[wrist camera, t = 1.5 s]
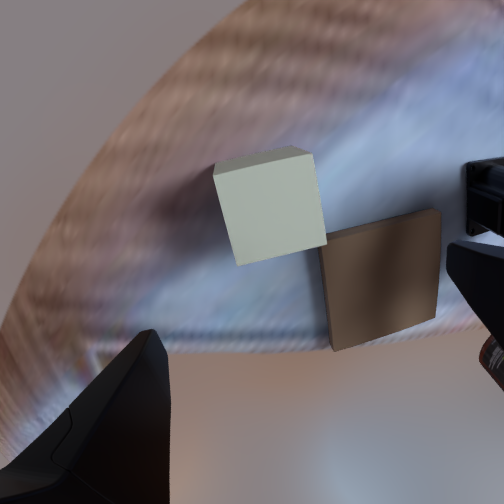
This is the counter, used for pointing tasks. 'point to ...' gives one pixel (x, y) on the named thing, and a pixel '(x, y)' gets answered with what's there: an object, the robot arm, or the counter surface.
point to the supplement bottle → (493, 360)
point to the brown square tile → (381, 277)
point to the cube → (270, 203)
